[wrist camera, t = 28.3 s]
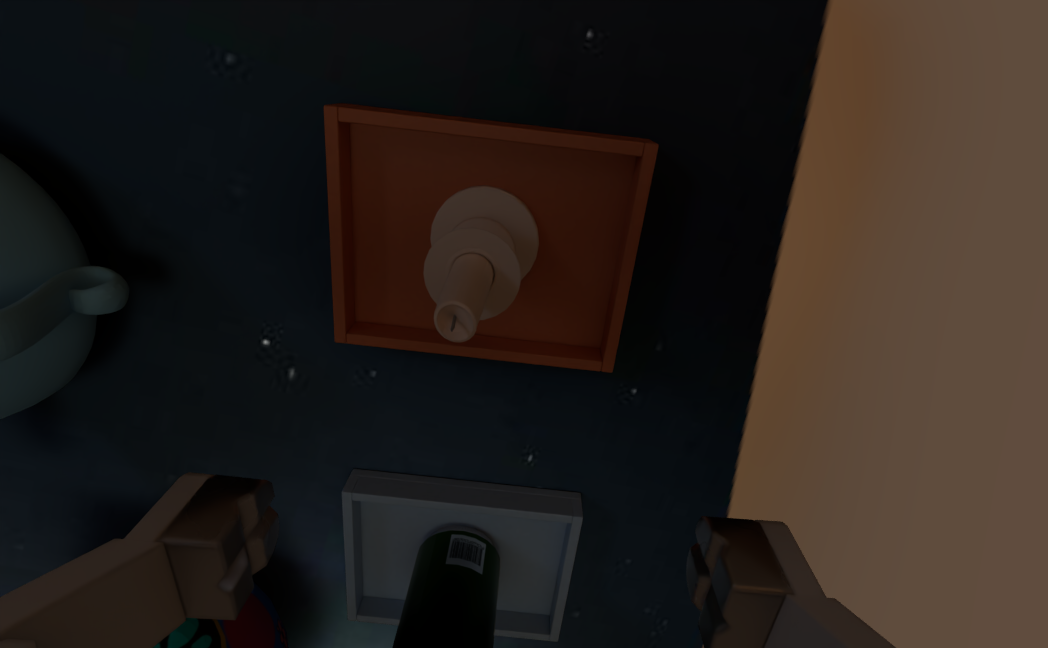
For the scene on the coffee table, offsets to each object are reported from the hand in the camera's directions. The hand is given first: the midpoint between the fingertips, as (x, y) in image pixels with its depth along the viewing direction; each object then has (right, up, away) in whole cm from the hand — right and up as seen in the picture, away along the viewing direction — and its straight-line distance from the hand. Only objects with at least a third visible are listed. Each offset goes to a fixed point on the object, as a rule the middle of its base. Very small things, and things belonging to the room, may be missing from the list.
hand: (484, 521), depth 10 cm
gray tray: (-3, -11, +25) cm, 28 cm away
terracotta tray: (-1, +8, +16) cm, 18 cm away
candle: (-1, +8, +16) cm, 18 cm away
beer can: (-3, -11, +25) cm, 27 cm away
